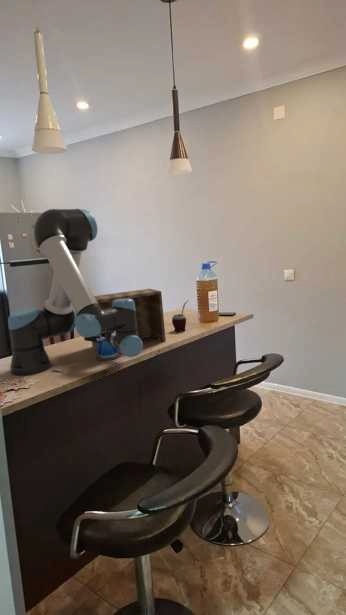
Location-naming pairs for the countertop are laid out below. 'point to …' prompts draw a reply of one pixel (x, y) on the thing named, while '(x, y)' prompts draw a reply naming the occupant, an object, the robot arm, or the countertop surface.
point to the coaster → (108, 358)
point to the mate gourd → (179, 321)
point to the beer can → (106, 350)
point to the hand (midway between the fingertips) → (104, 329)
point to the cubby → (141, 311)
